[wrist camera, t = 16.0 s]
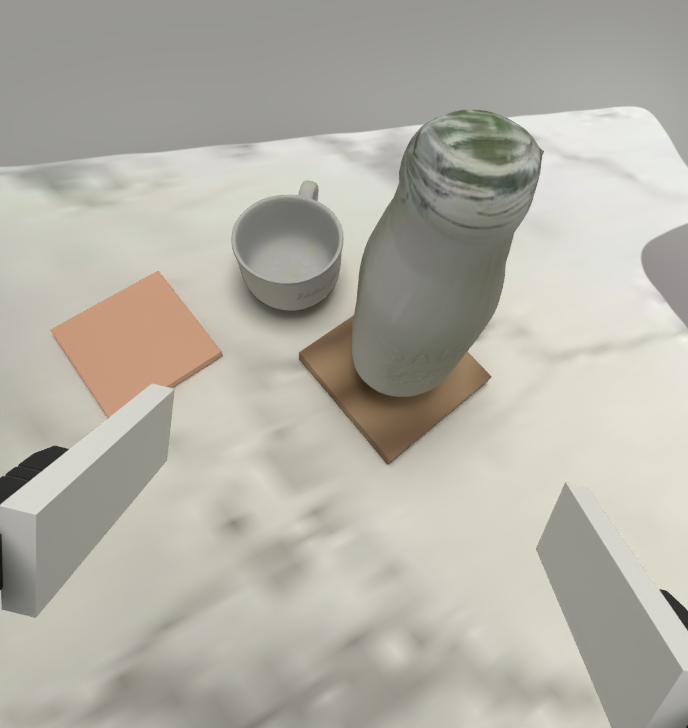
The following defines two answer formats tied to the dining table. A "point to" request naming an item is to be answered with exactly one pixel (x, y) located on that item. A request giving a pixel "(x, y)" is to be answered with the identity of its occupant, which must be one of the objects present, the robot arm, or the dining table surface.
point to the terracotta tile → (136, 342)
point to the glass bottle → (441, 249)
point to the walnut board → (380, 411)
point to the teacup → (289, 249)
